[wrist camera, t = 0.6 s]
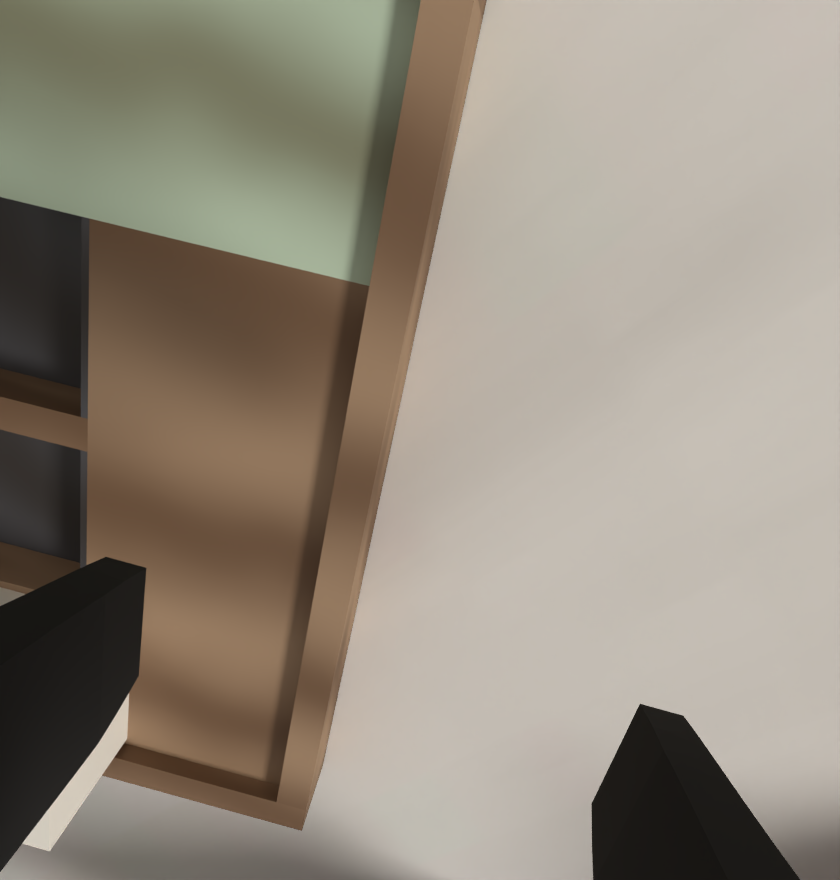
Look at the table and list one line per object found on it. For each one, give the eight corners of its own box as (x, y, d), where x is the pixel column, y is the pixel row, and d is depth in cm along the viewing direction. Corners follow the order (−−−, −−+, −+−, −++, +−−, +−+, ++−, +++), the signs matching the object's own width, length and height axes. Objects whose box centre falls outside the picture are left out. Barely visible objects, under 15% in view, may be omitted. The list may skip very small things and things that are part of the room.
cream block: (127, 738, 22) (49, 851, 18) (-13, 700, 22) (-117, 804, 18) (132, 622, 20) (46, 722, 16) (-21, 581, 20) (-140, 671, 16)
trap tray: (322, 765, 24) (301, 830, 22) (-83, 654, 25) (-148, 706, 22) (493, -32, 14) (489, -75, 12) (-188, -182, 15) (-321, -251, 12)
